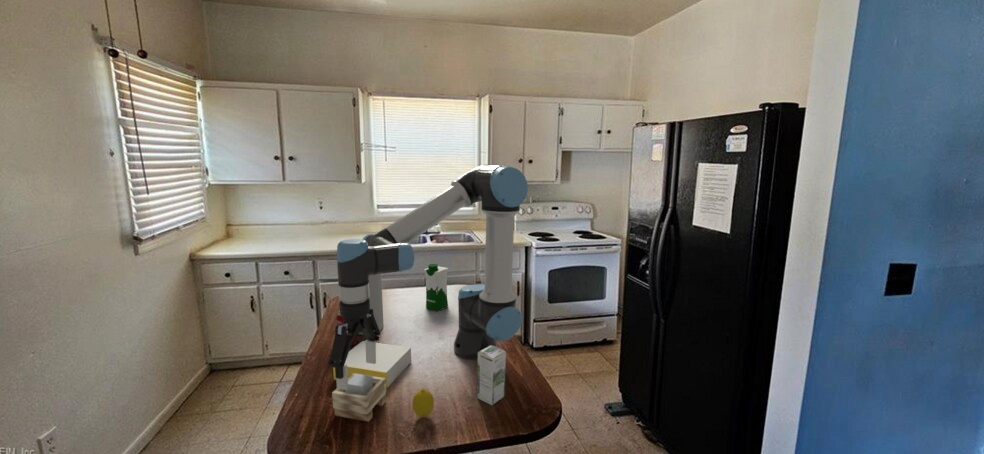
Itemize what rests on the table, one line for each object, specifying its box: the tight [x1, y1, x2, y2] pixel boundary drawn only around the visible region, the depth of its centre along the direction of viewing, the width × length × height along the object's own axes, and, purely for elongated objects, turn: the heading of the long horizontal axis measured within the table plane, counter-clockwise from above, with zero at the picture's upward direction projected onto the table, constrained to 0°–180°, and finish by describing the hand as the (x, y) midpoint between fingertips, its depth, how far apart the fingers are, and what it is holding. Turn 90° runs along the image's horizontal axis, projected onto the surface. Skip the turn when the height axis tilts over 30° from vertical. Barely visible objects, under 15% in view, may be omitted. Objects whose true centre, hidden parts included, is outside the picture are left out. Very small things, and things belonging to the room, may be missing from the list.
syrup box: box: [476, 345, 507, 406], centre depth 118 cm, size 6×6×14 cm
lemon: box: [412, 388, 435, 418], centre depth 110 cm, size 6×6×8 cm
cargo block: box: [346, 374, 373, 396], centre depth 113 cm, size 5×5×4 cm
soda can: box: [335, 310, 358, 346], centre depth 151 cm, size 7×7×12 cm
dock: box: [332, 340, 412, 389], centre depth 133 cm, size 18×16×5 cm
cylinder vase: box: [358, 274, 385, 336], centre depth 162 cm, size 12×12×25 cm
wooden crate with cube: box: [331, 373, 387, 423], centre depth 114 cm, size 10×10×7 cm
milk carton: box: [423, 263, 449, 312], centre depth 185 cm, size 9×9×20 cm
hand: (357, 374), depth 112 cm, fingers open, 13 cm apart
